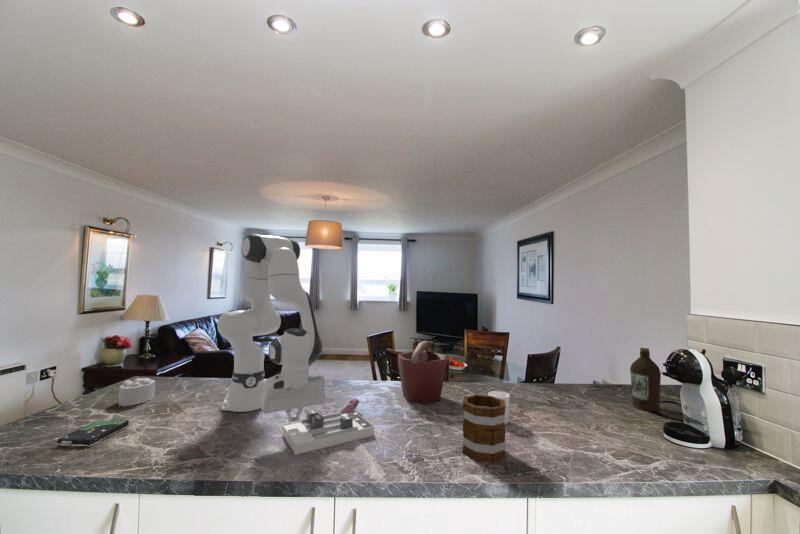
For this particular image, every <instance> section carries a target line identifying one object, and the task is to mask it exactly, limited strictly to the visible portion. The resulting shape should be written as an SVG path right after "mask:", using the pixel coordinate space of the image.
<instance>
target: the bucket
mask: <svg viewBox="0 0 800 534" xmlns="http://www.w3.org/2000/svg"><path fill="white" fill-rule="evenodd" d="M433 344H434V341H432V340H422V341H420V342H418V344H417V346H416V347H415V349H414V350H413V351H412V350H411V351H407V352H402V353H400V354H397V366H398V371H399V376H400V377H399V378H400V384H401V390H402V395H403V398H404V397H405V398H404V399H405V400H406V401H407V403H411V402H412V403H411V404H417V403H418V405H424V406H425V405H431V404H436V403H437V402H438V403H440V401H441V397H442V396H441V395H442V391H443V390H442V389H443V386H444V380H445V379H444V378H445V374H446V369H447V364H448V363H447V362H448V355H447V354H443V353H439V352H434V351H432V350H431V347H432V345H433ZM422 350H423V351H422Z"/></svg>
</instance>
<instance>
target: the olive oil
mask: <svg viewBox="0 0 800 534" xmlns="http://www.w3.org/2000/svg"><path fill="white" fill-rule="evenodd" d="M639 350H640V351H639V357H638V358H637V359H636V360H635V361H633V362H632V363H631V365H630V369H629V370H630V373H629V374H630V382H631V383H630V385H631V401H632V402H631V403H632V407H634V408H635V409H638V410H642V411H647V412H660V410H661V406H660V405H661V377H662V376H661V374H662V372H661V369H660V367H659V366H658V365H657V363H656V362H654V361H653V360H652V358H651V357H650V356H651V355H650V348H647V347H639Z"/></svg>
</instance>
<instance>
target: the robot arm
mask: <svg viewBox="0 0 800 534" xmlns="http://www.w3.org/2000/svg"><path fill="white" fill-rule="evenodd" d="M241 255H242V256H243V258H244V260H246V262H245V266H244V271H243V276H242V282H241V289H240V293H241V296H242V297H243V299H245V300H246V301H248V302H250V309H241V310H239V309H236V310H231V311H227V312H225V313H223V314H221V315H220V316H219V318H218V320H217V324H216V326H217V327H216V328H217V332H218V333H219V334H220V336H221V337H223V338H224V339H226V340H227V341H228V342H229V344H230V345H231V347H232V348H231V349H232V351H233V360H234V362H233V364H234V365H233V371H232V375H231V378H232V379H231V380H232V382H231V384H230V385H229V387H228V388H225V395H226V396H225V397H224V400H223V402H222V405H221V407H220V409H221V411H230V412H234V413H235V412H236V413H237V412H238V413H242V412H251V411H256V410H259V409H261V411H262V412H263V413H264V414H271V413H272V414H273V413H276V412H282V411H285V413H286V415H287V416H288V423H289V424H290V423H291V424H293V423H295V422H296V423H298V422H299V421H300V415H301V414H302V412H303V409H304V407H305V408H306V407H310V406H315V405H321V404H324V402H325V401H326V392H325V387H326V386H325V385H326V379H325V377H324V376H322V375H314V376H313V375H312V376H310V366H309V363H314V362H315V361H317V359H319V358H320V356H321V354H322V353H323V342H322V339H321V336H320V334H319V329H318V326H317V322H316V318H315V313H314V309H313V303H312V300H311V297H310V294H309V293H308V291H306V290H305V289H304V288H303V286H302V284H301V282H300V271H299V262H298V260H299V258H300V256H301V247H300V244H299V242H297V241H296V240H294V239H292V238H286V237H282V236H278V235H266V234H259V233H254V234H253V233H250V234H247V235H246V236H245V237H244V238H243V240H242V242H241ZM271 296H272V297H273V298H274V299H275V300H276V301H278V302H280V303H283V304H285V305H288V306H290V307H291V306H292V307H293V308H295V309H296V310H297V312H298V313H299V315H300V316H299V317H300V320H301V324H302V328H298V327H290V328H288V329H285V331H284V332H283V334H282V335H280V336H277V337H275V338H273V339H272V340H271V342H269V345H268V359H269V360H270V361H271V362H272V363H274V364H275V365H282V366H281V371H280V373H278V374H275V375H274V376H270V377H268V378H267V379H266V380H265V373H266V372H265V369H264V365H265V364H264V361H265V351H264V349H263V348H262V347H260V346H258V345H257V344H255V343H254V340H253V339H254V338H253V337H256V336H257V337H258V336H265V335H270V334H272V333H275V332H277V331H278V330H279V329H280V327H281V323H282V319H281V316H280V313H279V312H278V311H277V310H276V309H275V308H274V306H273V304H272V300H271ZM294 409H296V410H297V411H296V413H295V414H292V415H291V413H292V410H294Z"/></svg>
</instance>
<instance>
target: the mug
mask: <svg viewBox="0 0 800 534" xmlns="http://www.w3.org/2000/svg"><path fill="white" fill-rule="evenodd" d="M462 406H463V407H462V408H463V409H462V410H463V421H462V435H463V440H462V441H463V444H462V445H463V446H462V454H463V455H464V456H467V457H468V458H469V459H471V460H472V461H475V462H481V463H488V462H489V464H495V463H498V462H501V461H503V460H505V459H506V450H505V448H506V445H505V444H506V443H505V442H506V424H505V408H506V406H505V401H504V400H501V399H499V398H496V397H493V396H488V394H487V395H486V394H474V393H469V394H467V395H465V396H463V400H462Z"/></svg>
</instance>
